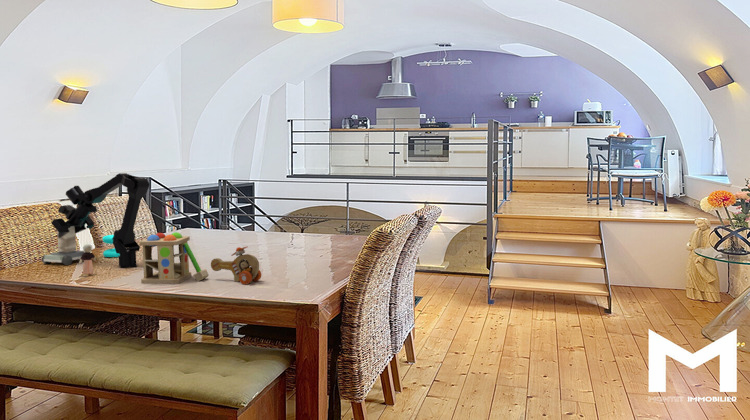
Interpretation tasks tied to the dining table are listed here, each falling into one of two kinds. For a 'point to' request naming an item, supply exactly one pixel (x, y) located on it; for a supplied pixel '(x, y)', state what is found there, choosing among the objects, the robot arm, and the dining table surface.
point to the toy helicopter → (240, 266)
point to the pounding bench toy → (169, 259)
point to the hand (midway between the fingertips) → (64, 236)
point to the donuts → (109, 252)
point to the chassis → (62, 257)
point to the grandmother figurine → (87, 260)
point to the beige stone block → (67, 241)
